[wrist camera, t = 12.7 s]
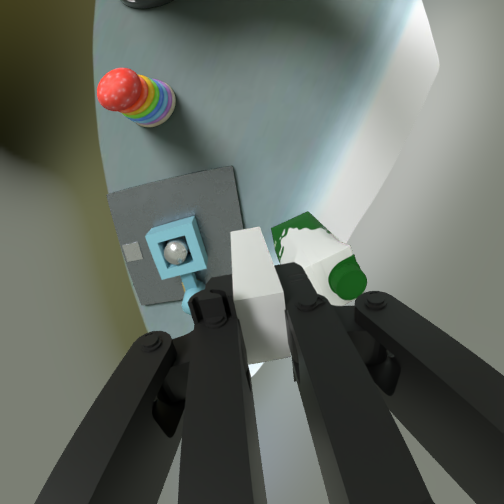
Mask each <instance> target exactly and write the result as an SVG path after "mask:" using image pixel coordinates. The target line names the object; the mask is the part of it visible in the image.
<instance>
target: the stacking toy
mask: <svg viewBox="0 0 504 504" xmlns="http://www.w3.org/2000/svg"><path fill="white" fill-rule="evenodd" d="M97 97H98V100H99V102H100V104H101V105H102V106H103V107H104V108H106V109H108V110H111V111H118V112H121V113H122V114H123V115H124V116H126V117H127V118H128V119H130V120H132V121H133V122H135V123H137V124H138V125H140V126H143V127H155V126H158V125H160V124H162V123H164V122H165V121H166V120H167V119H168V118H169V117H170V116H171V114H172V113H173V110H174V108H175V102H176V100H175V94H174V92H173V90H172V88H171V87H170V86H169V85H168V84H166V83H164V82H162V81H160V80H157V79H151V78H147V77H145V76H142V75H137V74H136V73H135V72H134V71H133V70H131V69H127V68H117V69H114V70H112V71H110V72H108V73H107V74H106V75H105V76H104V77H103V78H102V79H101V81H100V83H99V85H98V88H97Z"/></svg>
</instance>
